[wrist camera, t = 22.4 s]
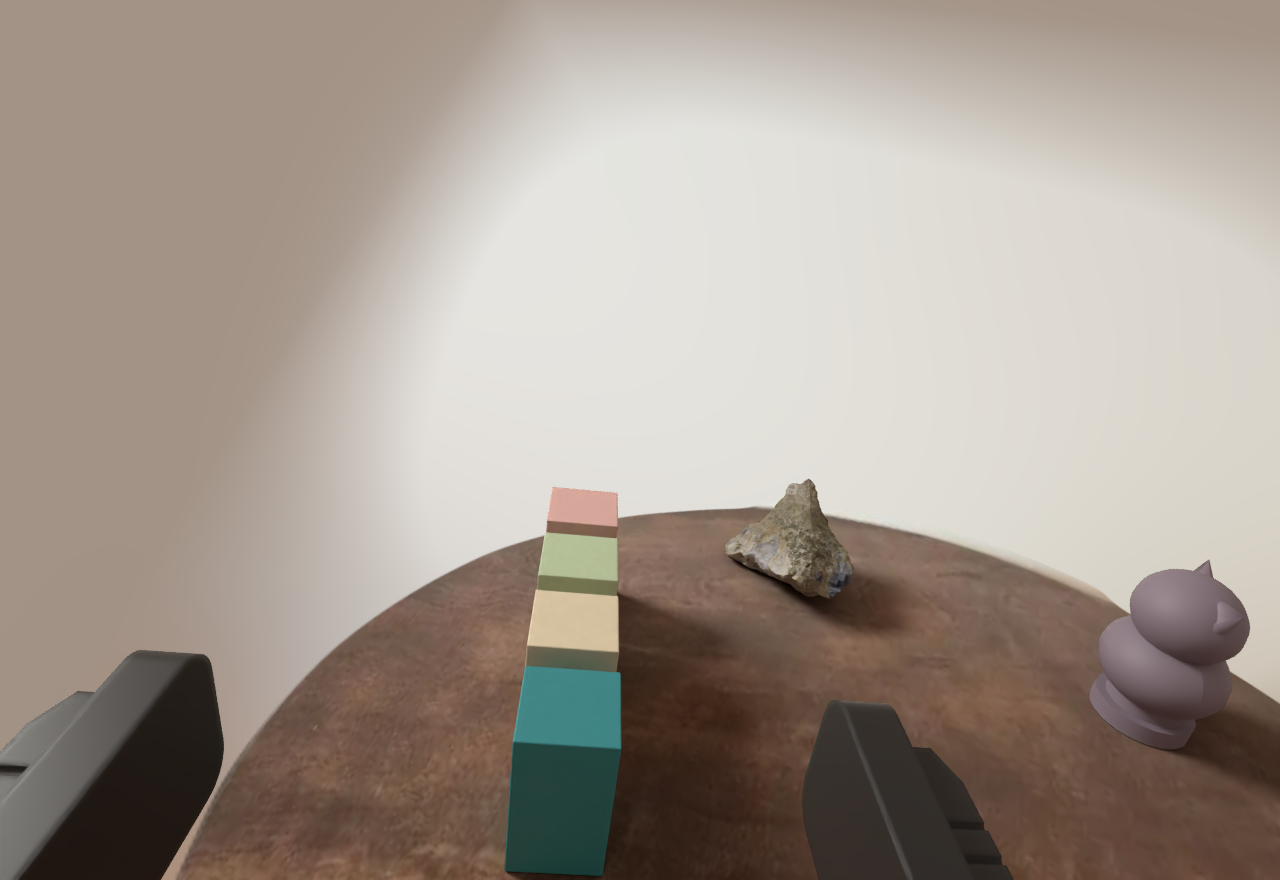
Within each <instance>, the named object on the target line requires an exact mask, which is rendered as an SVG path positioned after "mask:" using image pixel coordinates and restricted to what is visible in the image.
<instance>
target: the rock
mask: <svg viewBox="0 0 1280 880" xmlns="http://www.w3.org/2000/svg"><path fill="white" fill-rule="evenodd" d="M725 552H726V554H727V555H728V556H729V557H730V558H732V559H735V560H737V561H740V562H741V563H742V564H744V565H745V566H747V567H749V568H751V569H757V570H759V571H760V572H762V573H764V574H767V575H769V576H771V577H774V578H776V579H778V580H780V581H783V582H785V583H789V584H790V585H792V586H793V588H794V589H796V590H797V591H799V592H801V593H803V594H804V595H805V596H817V595H821V596H823V597H825V598H829V599H832V598H833V597H834V596H835V595H836V594H837V593H840V591H841V588H842V587H843V586H848V585H849V584H850V581H851V574H852V573H853V570H854V567H853V565H852V563H851V561H850V558H849V556H848V552H847V551H846V549H845V548H844V547H843V546H842V545H841V544H840V543H839V542H838V541H837V539H836V538H835V536H834V534H833V533H832V532H831V530H830V529H829V527H828V520H827V519H826V518H825V516H824V514H823V513H822V512H821V508H820V505H819V501H818V499H817V491H816V489H815V485H814V484H813V482H812V481H811V480H810V479H808V480H806V481H804V483H802V484H790V485H789V486H788V488H787V489H786V495H785V496H784V498H782V499H781V500H780V501H779V502H778V503H777V504H776V506H775V507H774V509H773V510H772V511H771V512H770V513H769V514H768V515H767V516H766V517H765V518H764V519H763V520H761V521H758V522H756V523H750V524H748V525H747V526H746V527H745V528H744V529H743V530H742V532H741V533H739V534H738V535H737V537H733V538H731V539H730V540H729V541H727V542H726V543H725Z"/></svg>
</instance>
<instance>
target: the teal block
mask: <svg viewBox="0 0 1280 880" xmlns="http://www.w3.org/2000/svg"><path fill="white" fill-rule="evenodd" d="M621 749H622V742H621V673H619V672H605V671H591V670H577V669H563V668H549V667H535V666H526V667H525V671H524V677H523V683H522V689H521V695H520V701H519V707H518V713H517V719H516V725H515V731H514V737H513V746H512V762H511V777H510V793H509V808H508V824H507V839H506V855H505V871H510V872H530V873H550V874H570V875H590V876H602V875H603V869H604V862H605V856H606V849H607V842H608V836H609V829H610V822H611V816H612V809H613V802H614V796H615V789H616V783H617V776H618V769H619V763H620V756H621Z"/></svg>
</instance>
